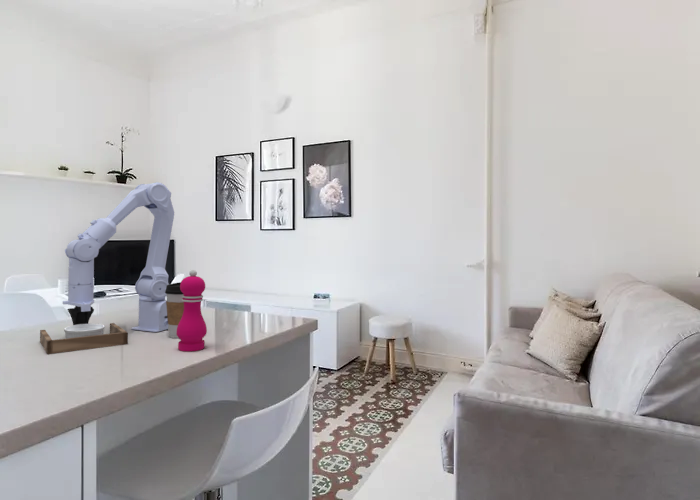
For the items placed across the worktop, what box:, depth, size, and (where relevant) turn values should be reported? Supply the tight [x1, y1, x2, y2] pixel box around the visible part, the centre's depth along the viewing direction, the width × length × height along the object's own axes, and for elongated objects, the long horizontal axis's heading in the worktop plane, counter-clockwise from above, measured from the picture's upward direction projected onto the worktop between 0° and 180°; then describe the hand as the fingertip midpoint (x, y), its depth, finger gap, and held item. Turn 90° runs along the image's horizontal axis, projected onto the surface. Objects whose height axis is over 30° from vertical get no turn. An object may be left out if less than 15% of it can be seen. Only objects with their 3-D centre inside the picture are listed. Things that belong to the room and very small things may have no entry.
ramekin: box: [63, 322, 106, 339], centre depth 108 cm, size 9×9×4 cm
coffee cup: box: [165, 281, 184, 339], centre depth 119 cm, size 8×8×15 cm
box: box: [39, 322, 129, 355], centre depth 108 cm, size 15×17×3 cm
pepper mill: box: [176, 269, 208, 352], centre depth 106 cm, size 7×7×20 cm
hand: (80, 334), depth 112 cm, fingers closed
